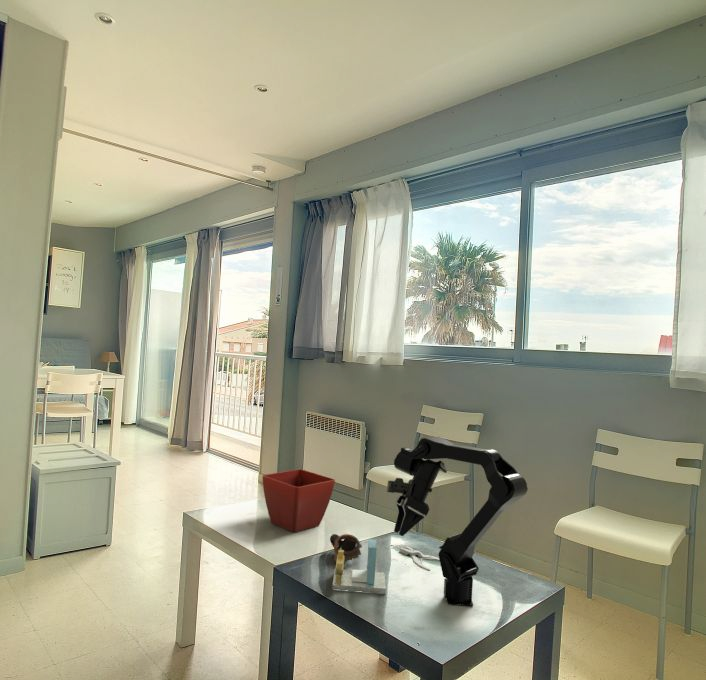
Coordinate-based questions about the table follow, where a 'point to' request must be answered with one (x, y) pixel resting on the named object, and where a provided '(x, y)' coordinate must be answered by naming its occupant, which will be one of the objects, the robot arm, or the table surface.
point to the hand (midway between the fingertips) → (398, 533)
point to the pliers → (414, 553)
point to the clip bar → (371, 563)
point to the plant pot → (297, 498)
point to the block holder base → (345, 582)
